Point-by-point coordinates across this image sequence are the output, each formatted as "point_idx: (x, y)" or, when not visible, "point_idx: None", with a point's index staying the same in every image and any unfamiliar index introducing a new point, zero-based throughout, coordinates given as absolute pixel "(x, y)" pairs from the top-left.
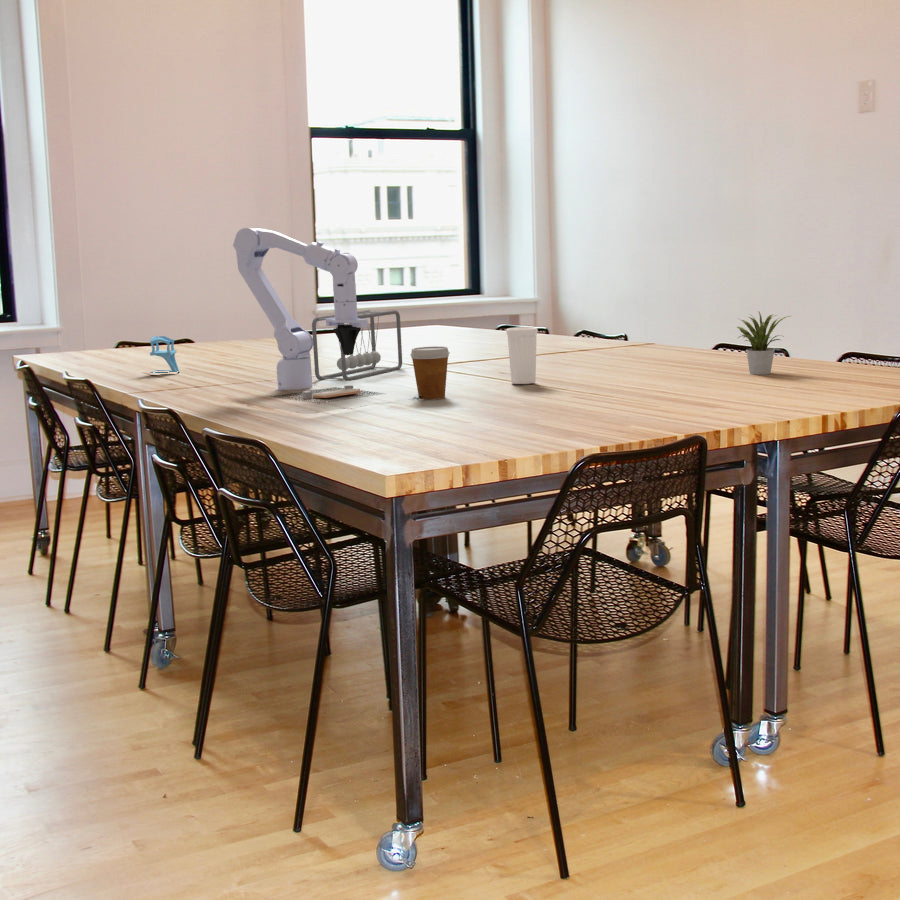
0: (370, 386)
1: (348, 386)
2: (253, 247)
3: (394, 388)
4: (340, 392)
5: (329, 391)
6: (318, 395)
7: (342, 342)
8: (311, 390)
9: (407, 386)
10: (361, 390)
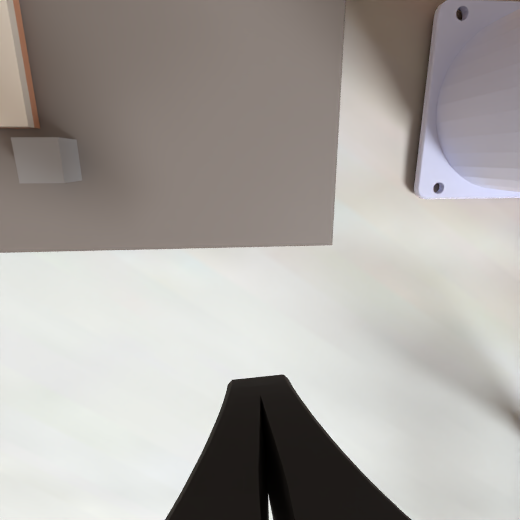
0: None
1: (12, 141)
2: None
3: (143, 449)
4: None
5: None
6: None
7: (286, 483)
8: (340, 66)
9: (152, 509)
10: (67, 248)
